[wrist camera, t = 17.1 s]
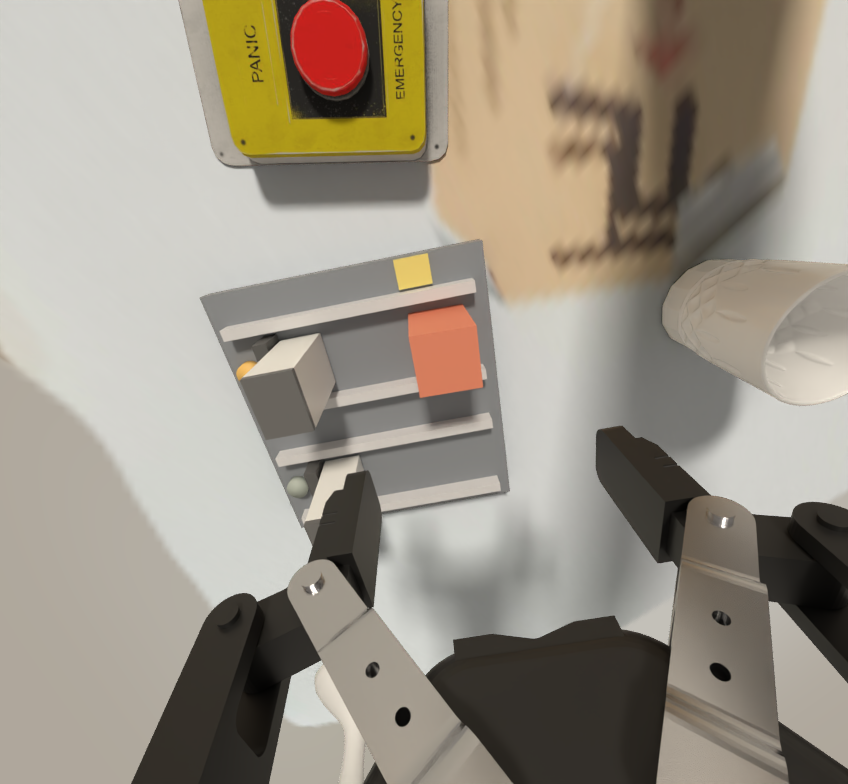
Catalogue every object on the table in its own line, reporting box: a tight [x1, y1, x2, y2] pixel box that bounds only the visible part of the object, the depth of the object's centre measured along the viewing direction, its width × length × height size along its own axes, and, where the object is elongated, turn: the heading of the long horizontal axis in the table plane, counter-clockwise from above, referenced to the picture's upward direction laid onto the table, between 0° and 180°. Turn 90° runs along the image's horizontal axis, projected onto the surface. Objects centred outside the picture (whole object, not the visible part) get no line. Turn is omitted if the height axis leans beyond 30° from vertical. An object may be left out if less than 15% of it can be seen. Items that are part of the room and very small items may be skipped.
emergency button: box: [178, 0, 448, 166], centre depth 21 cm, size 9×4×15 cm
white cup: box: [662, 259, 848, 406], centre depth 25 cm, size 8×8×10 cm
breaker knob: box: [304, 455, 364, 546], centre depth 29 cm, size 3×4×7 cm
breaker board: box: [200, 239, 510, 528], centre depth 30 cm, size 20×22×4 cm
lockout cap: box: [408, 304, 483, 398], centre depth 25 cm, size 4×4×6 cm
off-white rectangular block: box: [240, 333, 336, 440], centre depth 25 cm, size 3×4×7 cm
